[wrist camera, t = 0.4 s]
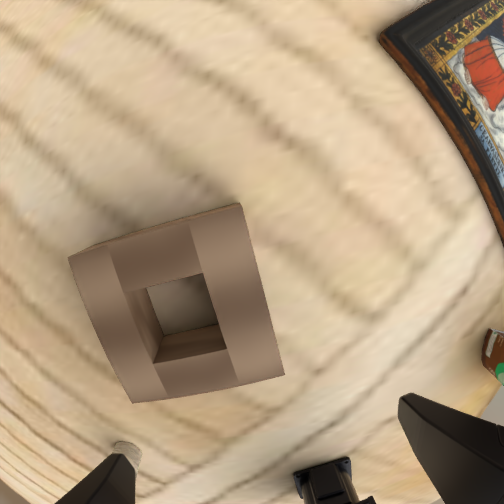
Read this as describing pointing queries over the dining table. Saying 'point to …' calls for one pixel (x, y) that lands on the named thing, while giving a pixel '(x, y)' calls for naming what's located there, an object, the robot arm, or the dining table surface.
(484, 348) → the food container
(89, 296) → the square hollow frame
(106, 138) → the dining table surface
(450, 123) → the framed icon painting
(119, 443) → the cylinder
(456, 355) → the dining table surface
